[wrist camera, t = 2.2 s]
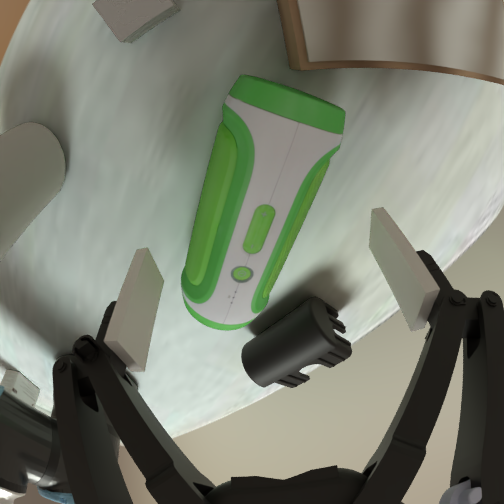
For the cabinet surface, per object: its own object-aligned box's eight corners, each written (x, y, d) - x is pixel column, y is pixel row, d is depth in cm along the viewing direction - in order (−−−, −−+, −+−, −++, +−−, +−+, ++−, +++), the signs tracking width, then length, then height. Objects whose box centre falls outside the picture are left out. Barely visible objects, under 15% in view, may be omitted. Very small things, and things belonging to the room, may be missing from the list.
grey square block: (132, 43, 15) (120, 42, 13) (106, 8, 12) (92, 4, 10) (180, 11, 14) (174, 4, 12) (153, -25, 11) (143, -34, 9)
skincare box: (40, 389, 47) (27, 444, 35) (26, 386, 47) (12, 438, 35) (17, 369, 42) (0, 428, 30) (4, 367, 42) (-14, 421, 30)
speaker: (257, 279, 28) (264, 342, 22) (183, 265, 27) (172, 329, 21) (330, 101, 18) (375, 125, 12) (233, 70, 17) (233, 73, 11)
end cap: (303, 282, 29) (317, 336, 24) (342, 309, 32) (358, 357, 27) (239, 330, 33) (241, 381, 28) (280, 349, 36) (287, 395, 31)
